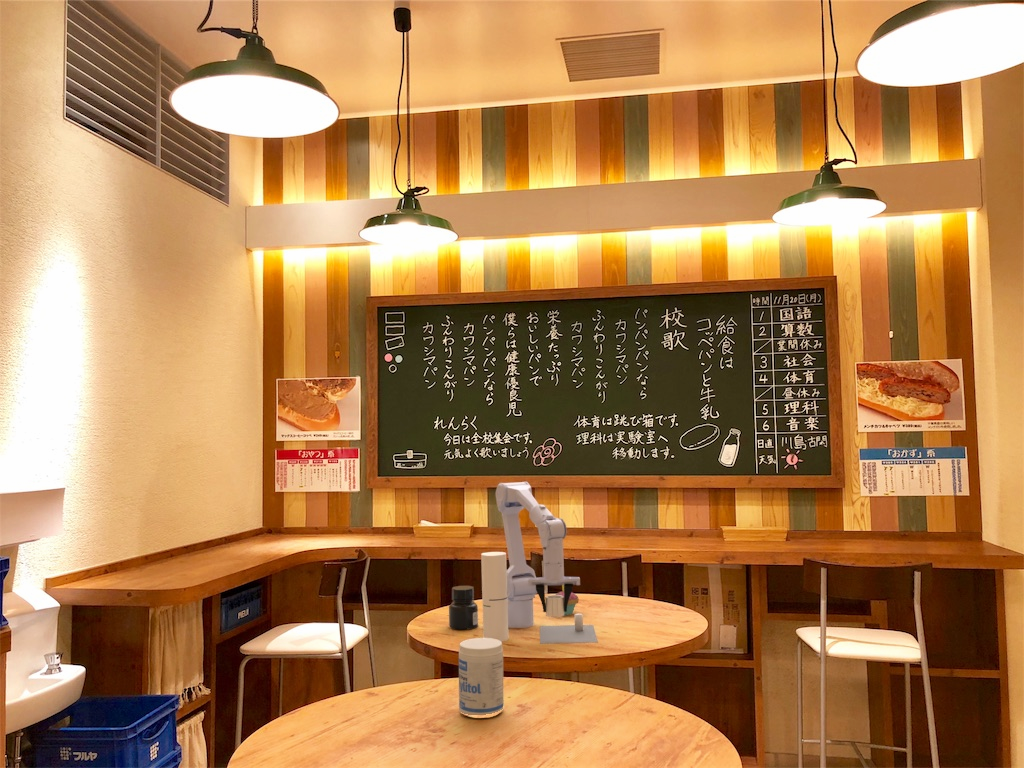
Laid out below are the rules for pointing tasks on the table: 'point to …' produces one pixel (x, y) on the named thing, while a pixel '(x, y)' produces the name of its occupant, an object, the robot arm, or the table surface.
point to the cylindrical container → (494, 595)
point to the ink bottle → (463, 609)
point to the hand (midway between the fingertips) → (555, 611)
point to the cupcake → (569, 602)
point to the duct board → (568, 633)
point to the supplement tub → (480, 676)
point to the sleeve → (554, 605)
